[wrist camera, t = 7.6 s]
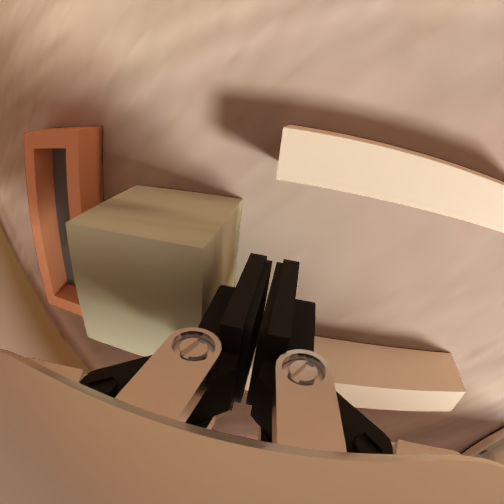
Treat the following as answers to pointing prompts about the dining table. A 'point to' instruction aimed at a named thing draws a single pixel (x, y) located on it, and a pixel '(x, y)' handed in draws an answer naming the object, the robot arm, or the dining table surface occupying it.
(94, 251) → the sage block
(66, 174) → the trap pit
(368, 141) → the walled channel
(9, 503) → the robot arm
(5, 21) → the dining table surface
